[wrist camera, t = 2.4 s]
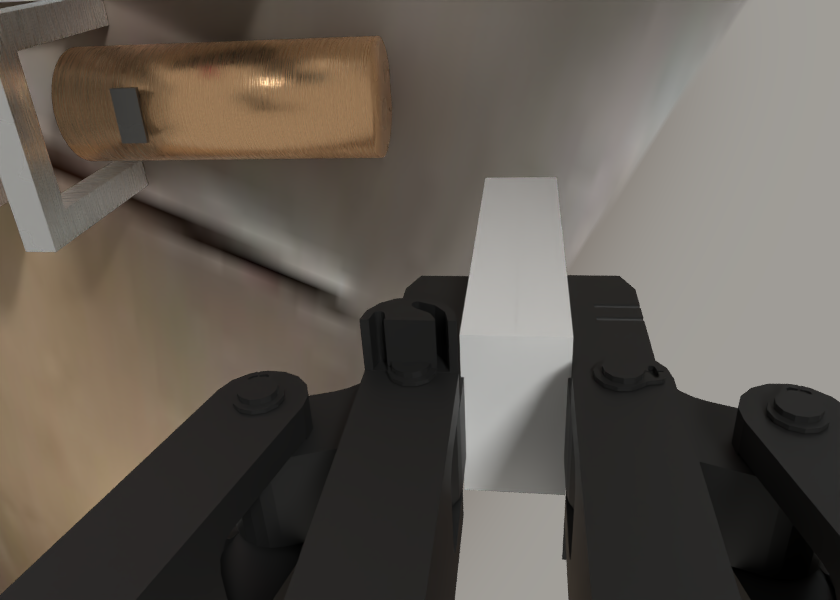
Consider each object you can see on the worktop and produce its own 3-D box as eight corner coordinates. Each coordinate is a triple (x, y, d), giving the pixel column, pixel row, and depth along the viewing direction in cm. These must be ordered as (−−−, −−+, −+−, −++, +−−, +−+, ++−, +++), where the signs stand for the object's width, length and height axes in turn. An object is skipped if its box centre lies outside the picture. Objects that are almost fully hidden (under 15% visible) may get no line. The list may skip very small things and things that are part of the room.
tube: (387, 29, 28) (363, 45, 24) (394, 141, 30) (373, 172, 26) (102, 40, 30) (36, 56, 26) (127, 145, 32) (69, 175, 28)
